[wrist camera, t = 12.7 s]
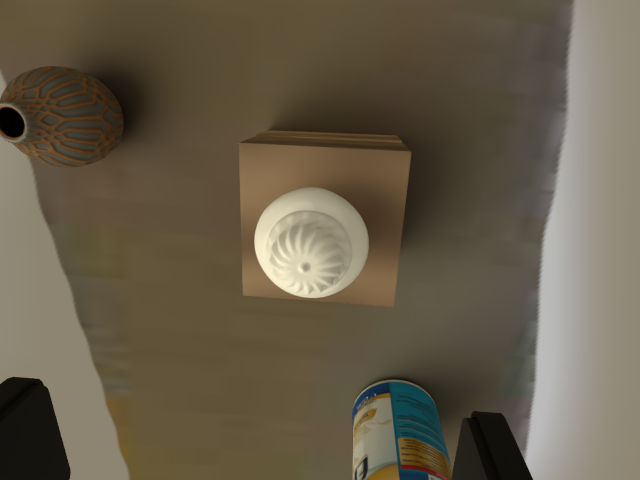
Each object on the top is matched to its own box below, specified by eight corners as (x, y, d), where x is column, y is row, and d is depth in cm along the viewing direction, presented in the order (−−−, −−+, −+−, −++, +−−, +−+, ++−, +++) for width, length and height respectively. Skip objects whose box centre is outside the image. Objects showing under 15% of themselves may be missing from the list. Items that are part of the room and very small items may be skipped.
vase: (147, 93, 32) (74, 91, 23) (126, 172, 34) (52, 197, 26) (63, 54, 31) (-41, 39, 23) (47, 138, 34) (-53, 151, 25)
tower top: (256, 135, 28) (239, 142, 24) (402, 143, 27) (411, 151, 23) (258, 268, 31) (243, 295, 27) (388, 277, 31) (393, 307, 26)
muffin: (271, 169, 24) (239, 196, 18) (374, 181, 24) (380, 214, 17) (265, 264, 26) (234, 320, 20) (359, 276, 26) (360, 338, 19)
